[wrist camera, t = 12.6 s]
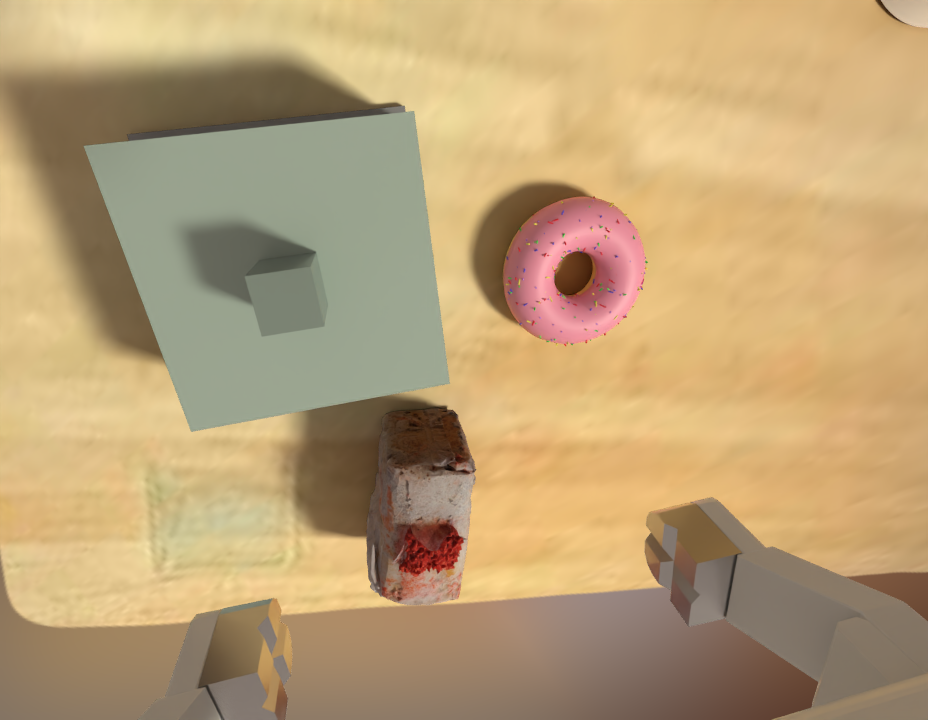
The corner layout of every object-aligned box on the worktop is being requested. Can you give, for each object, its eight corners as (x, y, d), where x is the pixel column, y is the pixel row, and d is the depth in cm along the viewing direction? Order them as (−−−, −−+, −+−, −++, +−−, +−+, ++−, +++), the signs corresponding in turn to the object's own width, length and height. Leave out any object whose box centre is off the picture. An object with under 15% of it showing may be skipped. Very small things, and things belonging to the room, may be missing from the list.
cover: (142, 147, 30) (33, 144, 20) (401, 120, 32) (424, 103, 22) (220, 381, 36) (168, 470, 26) (433, 344, 38) (462, 412, 28)
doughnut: (594, 163, 36) (622, 164, 33) (649, 285, 41) (679, 299, 37) (469, 248, 37) (482, 259, 33) (537, 359, 41) (556, 380, 38)
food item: (452, 536, 46) (476, 627, 37) (365, 543, 45) (368, 640, 36) (463, 404, 41) (493, 473, 33) (365, 407, 40) (368, 480, 31)
